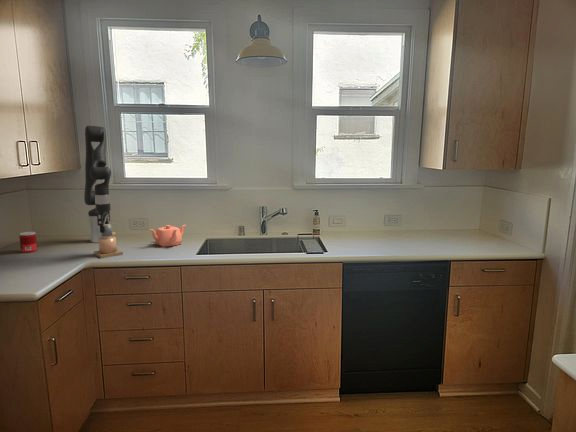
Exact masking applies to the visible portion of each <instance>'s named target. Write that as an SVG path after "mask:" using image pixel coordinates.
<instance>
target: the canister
mask: <svg viewBox="0 0 576 432" xmlns="http://www.w3.org/2000/svg"><path fill="white" fill-rule="evenodd" d="M123 254H124V253H123V251H122V250H121V249H118V248H117V237H116V236H113V235H111V236H103V237H101V238H99V242H98V250H94V251H93V255H94V256H96V257H98V258H100V259H105V258H110V257H116V256H122V255H123Z"/></svg>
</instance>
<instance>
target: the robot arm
mask: <svg viewBox="0 0 576 432" xmlns="http://www.w3.org/2000/svg"><path fill="white" fill-rule="evenodd" d="M84 139H85V163H84V166H85V168H84V169H85V171H84V173H85V174H84V175H85V186H84V196H83V199H84V204H85V205H86V206H94V208H92V209H90V210H89V211H88V213H87V214H88V224H89V225H88V226H89V240H90V242H91V243H99V238H101V237H103V236H102V235H101V233H104V232H105V229H104V224H110V222H111V210H112V209H111V197H110V188H109V187H110V181H111V176H112V170H111V168H110V167H108V166H107V156H106V153H107V152H106V150H107V131H106V128H105V127H103V126H96V125H86V126H85V129H84ZM92 143H99V144H98V145H97V146H96V147H95V148H94V147H93V145H92ZM99 180H100V181H102V180H104V181H103V182H100V183H97V184H95V183H96V182H97V181H99ZM94 184H95V185H94ZM93 187H94V190H93Z"/></svg>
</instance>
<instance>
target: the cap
mask: <svg viewBox="0 0 576 432" xmlns="http://www.w3.org/2000/svg"><path fill="white" fill-rule="evenodd" d="M104 229H105V232H104V233H101V235H102V236H113V235H116V232H115V231H113V225H112V224H111V223H109V224H104Z"/></svg>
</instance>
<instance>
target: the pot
mask: <svg viewBox="0 0 576 432" xmlns="http://www.w3.org/2000/svg"><path fill="white" fill-rule="evenodd" d="M186 226H187V224H183V225H181V227H180V228H179V227H177V226H174V225H173V226H172V225H169V224H166V225H165V226H162V227H158V228H156V231H155V230H154V229H151V228H150V229H148V230H149V231H150V232H151V233H152V238H153V239H154V241H155V243H156V245H158V246H159V247H162V248H165V247H174V246H178V245H181V244H182V242H183V238H182V237H183V235H184V230H185V227H186Z"/></svg>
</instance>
